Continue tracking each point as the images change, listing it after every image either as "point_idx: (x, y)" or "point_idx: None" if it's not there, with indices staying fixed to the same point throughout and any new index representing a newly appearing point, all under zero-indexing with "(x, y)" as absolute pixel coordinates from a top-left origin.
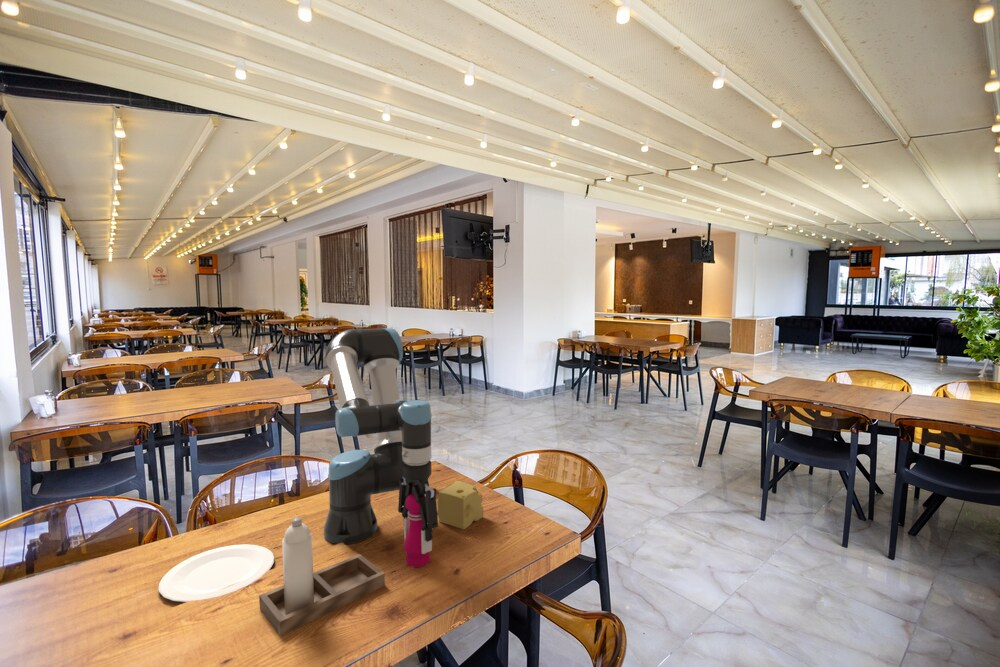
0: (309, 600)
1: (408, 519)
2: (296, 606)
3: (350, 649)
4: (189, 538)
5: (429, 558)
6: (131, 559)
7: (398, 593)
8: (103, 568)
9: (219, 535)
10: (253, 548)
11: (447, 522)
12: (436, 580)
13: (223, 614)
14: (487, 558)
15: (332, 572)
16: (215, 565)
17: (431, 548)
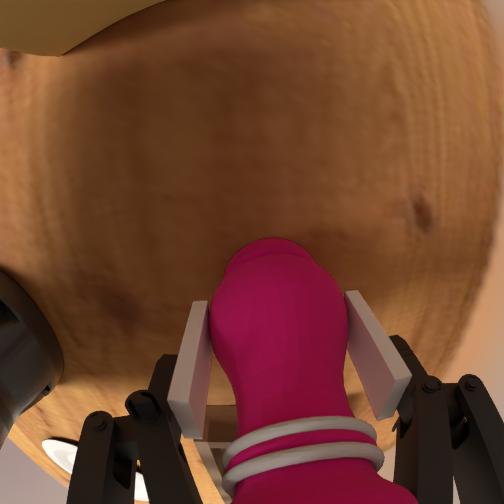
0: None
1: (198, 419)
2: None
3: (390, 442)
4: (16, 440)
5: (311, 258)
6: (51, 470)
7: (360, 381)
8: (63, 480)
9: (11, 428)
10: (56, 447)
11: (93, 30)
12: (404, 292)
13: (200, 493)
14: (435, 83)
15: (220, 465)
16: None
17: (360, 296)
